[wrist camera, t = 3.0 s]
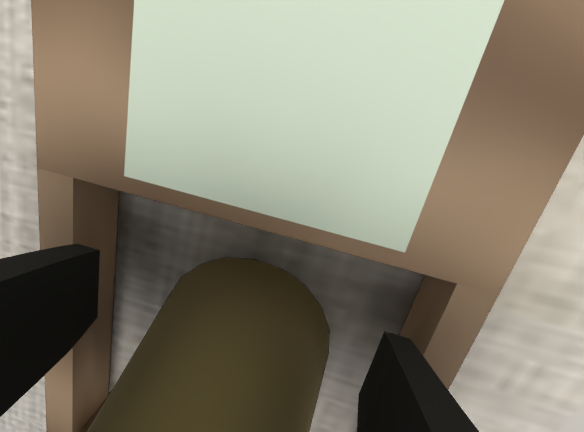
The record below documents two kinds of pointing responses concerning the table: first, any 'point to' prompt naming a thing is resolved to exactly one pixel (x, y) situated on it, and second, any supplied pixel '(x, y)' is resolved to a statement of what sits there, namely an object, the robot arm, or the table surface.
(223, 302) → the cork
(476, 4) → the well board
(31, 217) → the table surface
